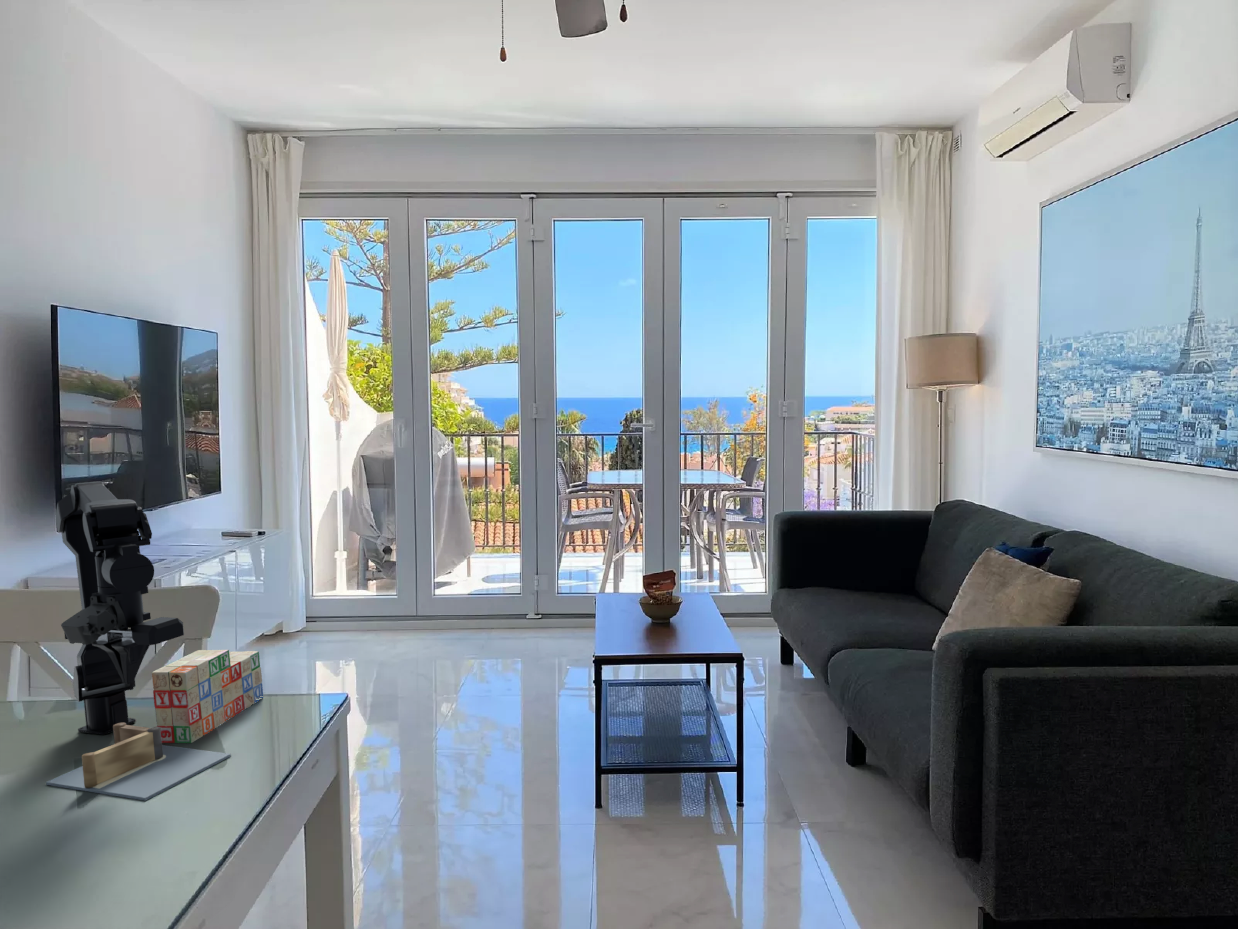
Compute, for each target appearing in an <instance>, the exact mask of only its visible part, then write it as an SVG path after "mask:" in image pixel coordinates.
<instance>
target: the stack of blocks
mask: <svg viewBox="0 0 1238 929" xmlns="http://www.w3.org/2000/svg"><path fill="white" fill-rule="evenodd" d="M262 674H263V673H262V667H261V660H260V651H256V650H252V651H251V650H249V651H247V650H246V651H230V649H209V650H208V649H198V650H195V651H193V652H192V653H189V654H188V655H185V656H182V657H181V658H179V659H177V660H175V661H173V662H171V663H169V664H167V665H165V666H162V667H160V668H157V669H156V670H154V671H152V672H151V677H152V686H153V691H152V693H153V695H152V696H153V704H154V711H155V719H156V727H160V728H161V740H162V744H165V743H167V744H168V743H169V744H175V743H176V744H177V743H178V744H181V743H182V744H192V743H194V742H195V741H197V740H199V739H200V738H202V737H203V735H204V736H206V735H207V734H209V733H211V732H212V731H214V730H215V728H216V727H217V728H218V726H219V725H220V724H222V725H224V724H225V723H226V722H227V721H226V720H228V719H229V718H231V717H232V718H234V717H235V716H236V714H237V715H238V714H240V713H241V711H242V710H243V711H245V710H246V708H247V709H248V708H250V707H252V706H253V705H254V704H256V703H258V702H260V701H259V700H256V699H259V698H263V699H264V689H263V675H262ZM260 696H263V697H260ZM257 701H258V702H257ZM255 702H256V703H255ZM252 704H253V705H252ZM251 705H252V706H251ZM243 711H242V712H243ZM232 718H231V719H232ZM229 720H230V719H229ZM229 720H228V721H229ZM225 721H226V722H225ZM224 722H225V723H224ZM223 723H224V724H223ZM220 726H221V725H220ZM220 726H219V727H220ZM217 728H216V729H217ZM213 729H214V730H213ZM210 731H211V732H210ZM208 732H209V733H208ZM205 734H206V735H205Z"/></svg>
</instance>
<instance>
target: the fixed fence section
mask: <svg viewBox="0 0 1238 929" xmlns="http://www.w3.org/2000/svg"><path fill="white" fill-rule="evenodd" d="M149 728H150V727H146V726H137V725H131V724H129V725H126V723H117V724H115V725H113V731H112V732H113V739H114V740H113V741H114V744H116V743H119V742H121V741H124V740H126V739H129V738H131V737H134V736H136V735H139V734H142V733H144V732H147V730H148V729H149Z"/></svg>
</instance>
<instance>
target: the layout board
mask: <svg viewBox="0 0 1238 929" xmlns="http://www.w3.org/2000/svg"><path fill="white" fill-rule="evenodd" d="M162 751H163V757H162V758H160V759H156V760H153V761H151V762H148V763H146V764H144V765H141V766H139V767H137V768H134V769H132V770H130V771H127V772H125V773H123V774H120V775H118V776H116V777H113V778H111V779H109V780H106V781H104V782H102V783H99V784H97V785H96V786H94V787H90V788H85V786H84V776H83V766H79V767H77V768H75V769H73V770H70V771H68V772H66V773H63V774H61V775H59V776H57V777H54V778H52V779H49V780H48V781H45V784H46V786H47V785H48V786H52V787H58V788H65V789H71V790H78V791H83V792H89V793H96V794H101V795H109V796H113V797H115V796H116V797H119V798H127V799H133V800H139V801H144V802H145V801H148V800H150V799H151V798H153V797H156V796H157V795H159V794H161V793H163V792H165V791H168V790H169V789H171V788H173V787H174V786H177V785H178V784H181V783H182V782H185V781H187V780H188V779H190V778H192V777H194V776H196V775H197V774H200V773H202V772H203V771H205V770H208V769H209V768H211V767H213V766H215V765H217V764H220V763H221V762H222V761H225V760H226V759H229V758H230V757H232V754H231V753H227V752H219V751H211V750H203V749H198V748H197V749H195V748H189V747H182V746H181V747H180V746H173V745H164V744H162Z"/></svg>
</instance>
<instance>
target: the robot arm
mask: <svg viewBox="0 0 1238 929" xmlns="http://www.w3.org/2000/svg"><path fill="white" fill-rule="evenodd" d="M55 526H56V530H57V532H58V533H59V534H61V538H62V543H63V544H64V545H65V547H67V549H69V551H70V552H71V553H72V554H73V555H74V557H75V563H76V571H77V580H78V582H77V583H78V588H79V595H80V596H79V598H80V604H81V610H79V611H78V612H76V613H75V614H73V615H72V616H70V617H69V618H67V619H66V620H65V621H63V622H62V623H61V624H60V626H61V628H62V631H63V632H64V640H68V642H69V644H71V645H72V644H73V645H74V644H82V645H81V647H80V649H79V650H78V653H77V656H76V662H77V665H76V666H74V668H73V669H74V670H73V677H72V678H73V680H72V688H73V695H74V698H75V699H76V700H77V701H78V702H83V708H84V716H85V718H84V719H85V725H84V726H81V727H79V728H77V732H78V733H86V734H94V735H102V736H104V735H107V734H110V733H112V732H113V725H115V724H117V723H126V725H131V724H133V723H135V722H136V720H137V719H136V718H133V717H129V712H128V711H129V710H128V700H126V691H133V690H134V688H135V687H136V677H137V675H138V673H139V670H140V667H141V665H142V663H143V661H144V658H145V656H146V653H147V651H148V650H149V648H150V646H154V645H159V644H161V643H163V642H167V641H171V640H173V639H174V640H175V639H176V638H180V637H183V636H184V635H185V629H184V628H185V627H184V622H183V621H182V620H180V618H179V617H169V616H168V617H164V616H160V617H158V618H157V617H156V618H153V619H151V617H152V616H151V611H150V612H149V611H148V612H147V611H144V602H143V600H144V599H143V595H146V594H149V587H148V586H149V585H150V584H151V583H152V581H153V579H154V576H155V566H154V565H153V562H152V560H151V559H149V558H148V557H147V556H145V555H144V554H142V553H141V549H140V547H142V546H150V545H151V540H152V536H153V532H152V529H151V526H150V522H149V519H148V516H147V514H146V513H145V512H144V511H143V507H141V506H139V505H138V504H137V502H136V500H133V499H131V498H130V499H129V498H128V499H127V498H126V499H125V498H124V499H123V498H122V499H121V498H120V499H118V498H117V497H116V495H114V494H113V493H112V492H111V491H110V490H109V488H108V483H107V482H102V481H91V482H90V481H89V482H87V481H86V482H79V483H78V482H77V483H75V484H72V485H71V488H70V491H69V493H68V494H66V495H65V496H64V497H63V498H62V499H60V500H59V501H58V502H57V503H56V510H55Z"/></svg>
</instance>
